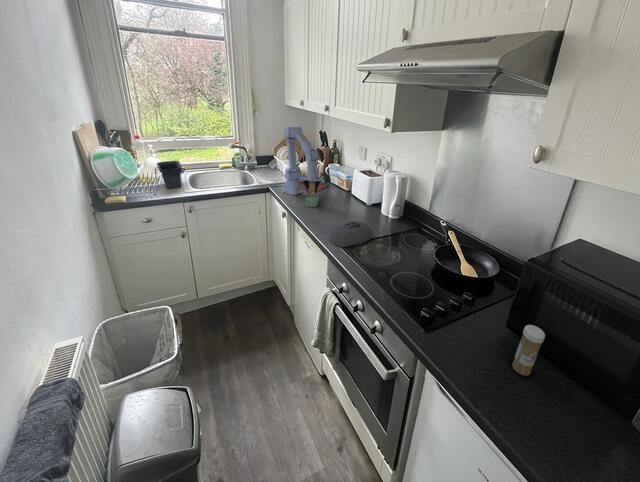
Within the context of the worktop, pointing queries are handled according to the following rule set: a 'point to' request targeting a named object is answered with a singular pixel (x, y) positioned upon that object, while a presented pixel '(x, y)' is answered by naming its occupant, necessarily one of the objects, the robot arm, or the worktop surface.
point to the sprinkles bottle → (528, 349)
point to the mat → (313, 186)
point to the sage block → (311, 201)
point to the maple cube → (311, 191)
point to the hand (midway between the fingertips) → (311, 192)
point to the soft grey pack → (351, 233)
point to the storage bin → (170, 173)
